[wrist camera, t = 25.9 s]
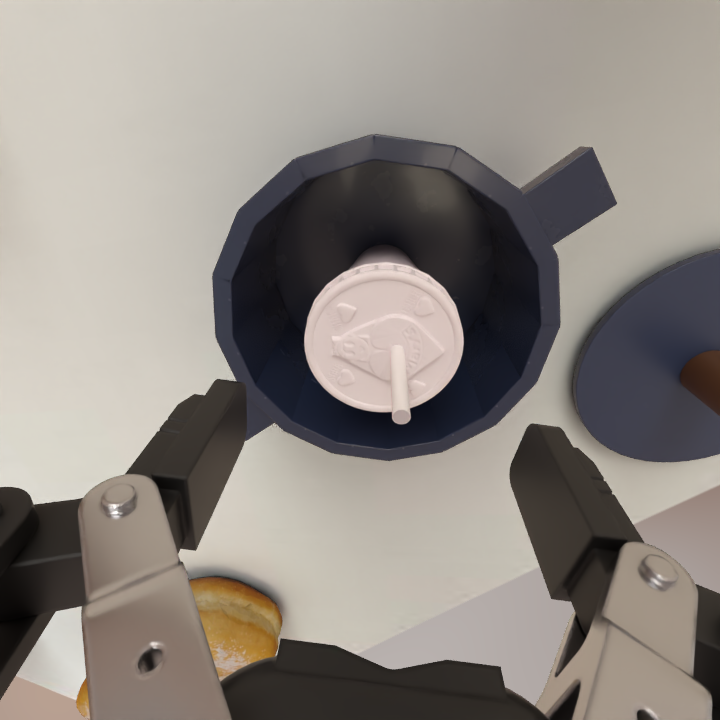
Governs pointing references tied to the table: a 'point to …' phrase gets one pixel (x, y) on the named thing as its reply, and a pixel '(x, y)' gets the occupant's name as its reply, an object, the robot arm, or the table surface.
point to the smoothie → (384, 335)
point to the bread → (228, 626)
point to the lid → (657, 367)
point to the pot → (429, 254)
